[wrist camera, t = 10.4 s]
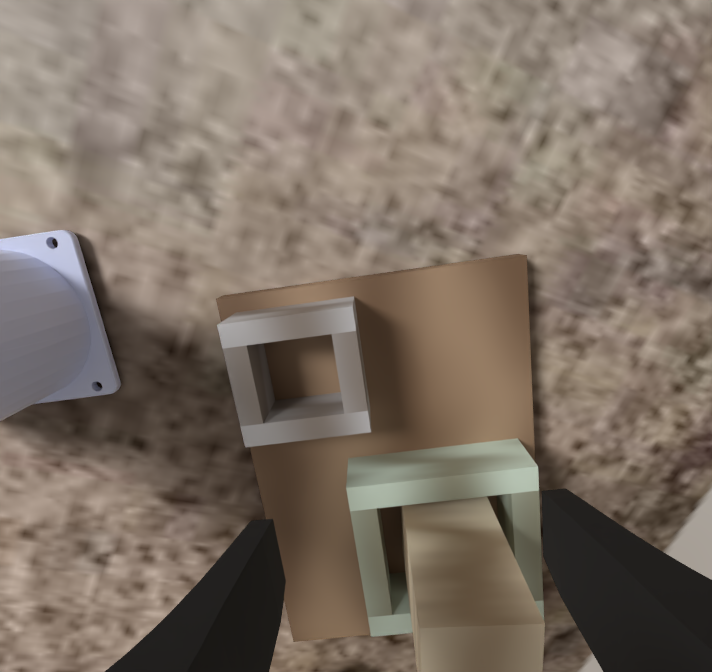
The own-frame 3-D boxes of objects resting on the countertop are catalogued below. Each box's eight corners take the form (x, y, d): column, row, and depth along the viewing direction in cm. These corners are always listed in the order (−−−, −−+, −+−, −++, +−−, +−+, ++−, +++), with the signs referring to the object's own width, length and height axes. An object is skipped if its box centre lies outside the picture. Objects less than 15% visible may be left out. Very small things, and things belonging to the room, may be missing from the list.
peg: (402, 548, 22) (423, 720, 15) (399, 482, 21) (419, 628, 14) (478, 545, 22) (540, 716, 14) (479, 479, 21) (545, 623, 13)
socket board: (296, 625, 25) (285, 688, 22) (223, 295, 20) (194, 309, 17) (534, 602, 24) (562, 663, 21) (518, 254, 19) (551, 259, 16)
